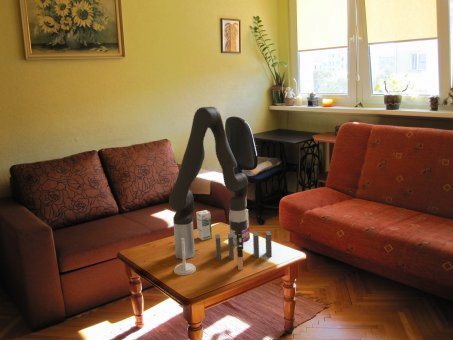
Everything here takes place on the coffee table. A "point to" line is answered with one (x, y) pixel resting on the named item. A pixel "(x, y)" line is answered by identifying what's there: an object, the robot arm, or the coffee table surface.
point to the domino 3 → (239, 262)
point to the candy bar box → (245, 232)
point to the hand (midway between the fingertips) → (239, 254)
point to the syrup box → (204, 224)
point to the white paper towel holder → (184, 264)
